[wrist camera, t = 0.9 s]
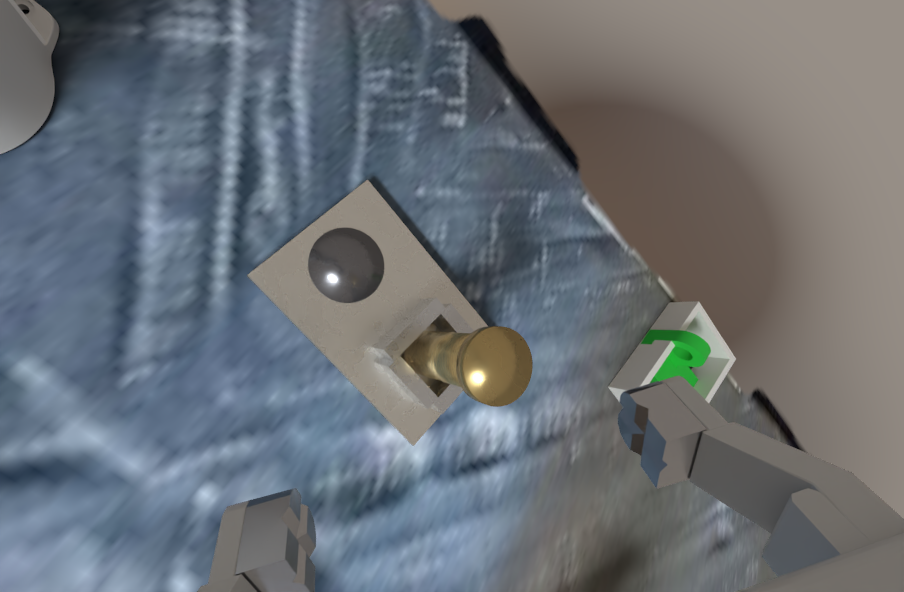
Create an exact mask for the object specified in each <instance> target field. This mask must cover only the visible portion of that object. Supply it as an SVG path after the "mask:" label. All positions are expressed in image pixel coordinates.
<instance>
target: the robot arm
mask: <svg viewBox="0 0 904 592" xmlns="http://www.w3.org/2000/svg"><path fill="white" fill-rule="evenodd" d="M24 9H26V10H29V13H28V14H24V13H23V12H22V10H24ZM58 36H59V26H58V23H57V21H56V20H55V19H54V18H53V17H52V15H51V14H50V13H49V12H48V11H47V10H45V9H44V8H43V7H42V6H40V5H39V4H38V3H37V2H35V1H34V0H0V154H2V153H5V152H7V151H9V150H11V149H13V148H15V147H17V146H19V145H20V144H22V143H24V142H25V141H26V140H28V139H29V138H30V137H31V136H33V135H34V134H35V133H36V132H37V131H38V130H39V128H40V127H41V126H42V125H43V123H44V122H45V120H46V118H47V117H48V115H49V112H50V110H51V107H52V104H53V100H54V92H55V84H54V76H53V70H52V64H51V54H52V52H53V50H54V47H55V45H56V42H57V39H58ZM620 403H621V405H622V406H623V409H622V410H621V412H620V413H619V414H618V425H619V429H620V433H621V435H622V437H623V439H624V441H625V443H626V444H627V446H628V447H629V449H630V450H631V451H633V452H635V453H637V454H639V455H640V456H641V467H642V468H643V470H644V471H645V472H646V474H647V475H648V477H649V478H650V480H651V481H652V483H653V484H654V486H655V487H656V488H660V487H664V486H667V485H671V484H674V483H678V482H681V481H685V480H688V479H690V480H689V481H690V482H691V483H693V484H694V485H696V486H697V487H699V488H701V489H702V490H704V491H705V492H707V493H708V494H710V495H711V496H713V497H715V498H716V499H718V500H719V501H721V502H722V503H724V504H725V505H727V506H729V507H730V508H732V509H733V510H735V511H736V512H738V513H740V514H741V515H743V516H744V517H746V518H747V519H749V520H750V521H752V522H754V523H755V524H757V525H758V526H760V527H761V528H763V529H764V530H766V531H768V532H769V533H771V535H770V537H769V539H768V541H767V543H766V545H765V547H764V549H763V554H762V557H763V559H764V560H765V561H766V562H767V564H768V565H769V566H770V568H771V569H772V570H773V571H774V573H775V574H776V575H777V577H776V578H773V579H770V580H767V581H764V582H761V583H759V584H756V585H753V586H750V587H747V588H744V589H742V590H739V591H736V592H904V519H903V518H902V517H901V516H900V515H899V514H898V513H897V512H895V511H894V510H893V509H892V508H891V507H890V506H889V505H887V504H886V503H885V502H884V501H883V500H882V499H881V498H880V497H879V496H877V495H876V494H875V493H874V492H873V491H872V490H871V489H870V488H868V487H867V486H866V485H865V484H864V483H863V482H862V481H861V480H859V479H858V478H857V477H856V476H855V475H854V474H853V473H852V472H849V471H847V470H845V469H842V468H840V467H838V466H835V465H833V464H831V463H828V462H826V461H824V460H821V459H819V458H817V457H814V456H812V455H810V454H807V453H805V452H803V451H800V450H798V449H796V448H793V447H791V446H789V445H786V444H784V443H782V442H779V441H777V440H775V439H772V438H770V437H768V436H765V435H763V434H761V433H758V432H756V431H754V430H751V429H749V428H747V427H744V426H742V425H740V424H737V423H735V422H733V423H729V424H728V423H727V422H726V421H725V420H724V418H723V417H722V416H721V415H720V414H719V413H718V412H717V411H716V410H715V409H714V408H713V407H712V406H711V405H710V404H709V403H708V402H707V401H706V400H705V399H704V398H703V397H702V396H701V395H700V394H699V393H698V392H697V391H696V390H695V389H694V388H693V387H692V386H691V385H690V384H689V383H688V381H687V380H686V379H685V378H683V377H681V376H675V377H671V378H668V379H665V380H662V381H656V382H653V383H650V384H647V385H643V386H640V387H637V388H634V389H630V390H627V391H624V392H623V393H622V394H621V395H620ZM315 547H316V532H315V524H314V519H313V516H312V513H311V511H310V509H309V508H308V506H305V505H302V504H301V495H300V493H299V492H298V490H297V489H296V488H294V489H290V490H287V491H283V492H279V493H275V494H272V495H268V496H264V497H261V498H257V499H253V500H249V501H246V502H242V503H239V504H235V505H232V506H228V507H227V508H226V510H225V512H224V514H223V516H222V520H221V525H220V530H219V534H218V539H217V544H216V548H215V553H214V558H213V562H212V567H211V572H210V577H209V581H208V584H207V585H204V586H201V587H200V588H199V590H198V591H197V592H314V591H315V566H314V564H313V563H312V561H311V560H310V558H309V557H310V556H311V554H312V552H313V551H314V549H315Z"/></svg>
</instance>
